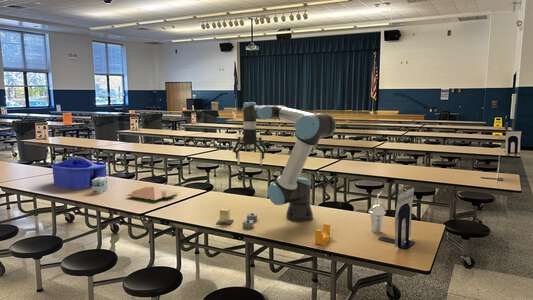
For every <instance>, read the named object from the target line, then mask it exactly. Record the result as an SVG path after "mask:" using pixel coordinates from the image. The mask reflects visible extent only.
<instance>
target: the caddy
mask: <svg viewBox="0 0 533 300" xmlns="http://www.w3.org/2000/svg"><path fill="white" fill-rule="evenodd" d="M107 166H108V164H107V163H106V162H102V161H101V162H98V161H92V160H89V159H87V158H85V157H83V156H78V155H76V156H72V157H70V158H68V159H66V160H63V161H60V162H57V163H56V162H55V163H52V164H51V165H50V167H51V169H52V175H53V186H54V185H55V186H54V187H56V186H58V187H57V188H61V187H63V188H62V189H66V188H68V189H67V190H86V188H87V189H89V188H90V186H91V184H92V180H93V179H95V178H98V177H107V176H106V174H107V173H106V171H107V169H106V167H107Z"/></svg>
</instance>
